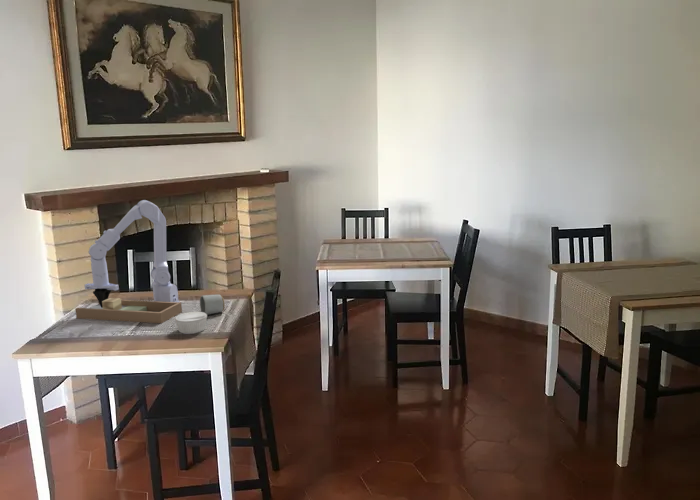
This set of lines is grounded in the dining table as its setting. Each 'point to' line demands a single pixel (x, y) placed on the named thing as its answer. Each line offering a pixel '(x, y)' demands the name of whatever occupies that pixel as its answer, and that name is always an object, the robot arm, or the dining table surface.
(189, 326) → the ramekin
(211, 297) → the ceramic mug
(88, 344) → the dining table surface
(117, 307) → the wood block
